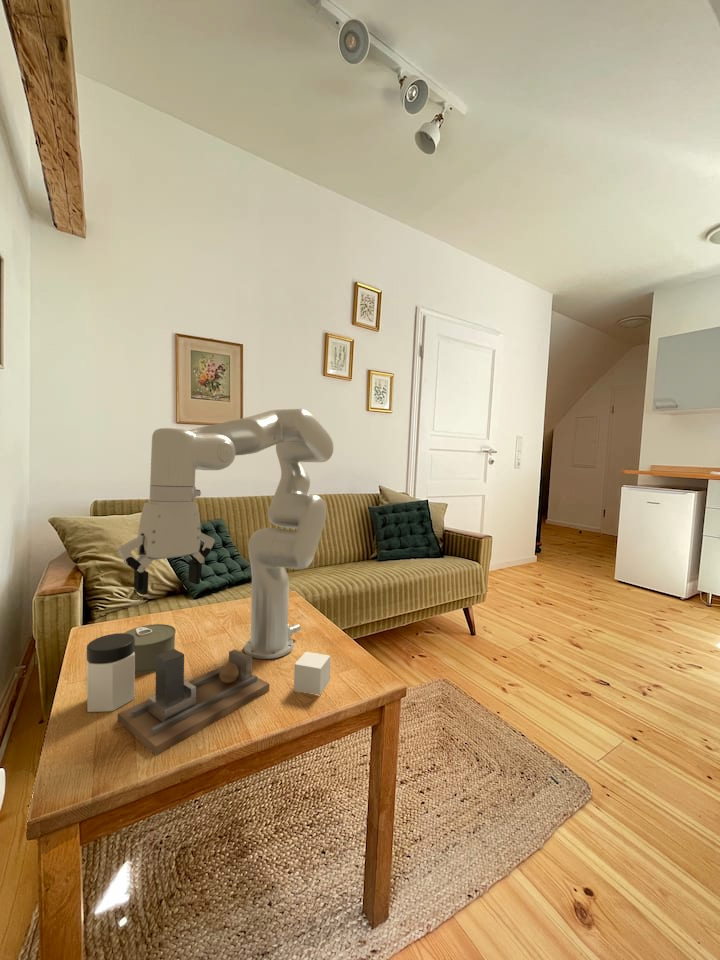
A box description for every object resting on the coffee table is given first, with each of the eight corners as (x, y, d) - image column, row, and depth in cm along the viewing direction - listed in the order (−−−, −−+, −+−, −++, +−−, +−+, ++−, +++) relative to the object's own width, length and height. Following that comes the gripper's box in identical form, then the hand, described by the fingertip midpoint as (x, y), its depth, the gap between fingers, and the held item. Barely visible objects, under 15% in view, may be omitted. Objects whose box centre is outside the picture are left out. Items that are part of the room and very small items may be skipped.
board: (229, 669, 92) (229, 641, 92) (269, 690, 84) (269, 660, 83) (117, 721, 72) (118, 686, 72) (155, 755, 64) (156, 716, 64)
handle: (178, 696, 78) (179, 643, 77) (195, 707, 74) (196, 653, 74) (147, 710, 73) (148, 655, 72) (164, 723, 69) (165, 665, 69)
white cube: (320, 696, 82) (320, 668, 82) (293, 691, 84) (294, 664, 83) (329, 681, 88) (330, 655, 88) (305, 677, 89) (305, 651, 89)
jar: (143, 688, 83) (144, 632, 83) (124, 711, 75) (124, 650, 75) (98, 689, 82) (99, 633, 82) (74, 713, 74) (74, 651, 74)
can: (129, 681, 86) (130, 650, 86) (110, 662, 94) (111, 634, 93) (184, 661, 95) (184, 633, 95) (162, 646, 103) (163, 620, 103)
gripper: (205, 494, 82) (202, 576, 82) (112, 495, 68) (109, 592, 68) (225, 496, 77) (222, 583, 77) (130, 497, 64) (126, 602, 64)
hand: (169, 587), depth 73 cm, fingers open, 9 cm apart
